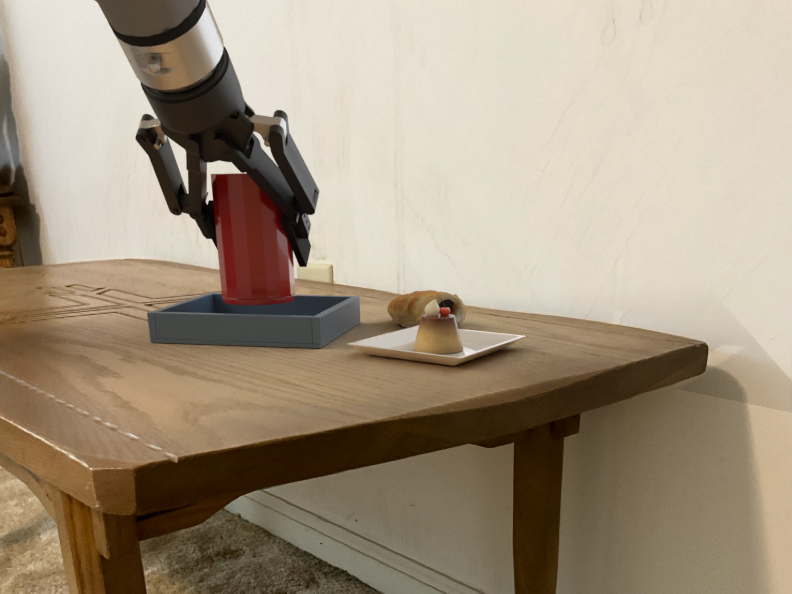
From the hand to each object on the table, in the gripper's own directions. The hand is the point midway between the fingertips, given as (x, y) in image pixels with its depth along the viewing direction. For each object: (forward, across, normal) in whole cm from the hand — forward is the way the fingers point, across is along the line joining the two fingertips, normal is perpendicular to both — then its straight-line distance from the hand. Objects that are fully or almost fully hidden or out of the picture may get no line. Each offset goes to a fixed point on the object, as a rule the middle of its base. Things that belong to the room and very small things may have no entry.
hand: (268, 255), depth 89 cm
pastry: (+8, +16, -3) cm, 18 cm away
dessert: (-2, +20, -13) cm, 24 cm away
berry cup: (0, 0, -5) cm, 5 cm away
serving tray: (+3, 0, -8) cm, 8 cm away
